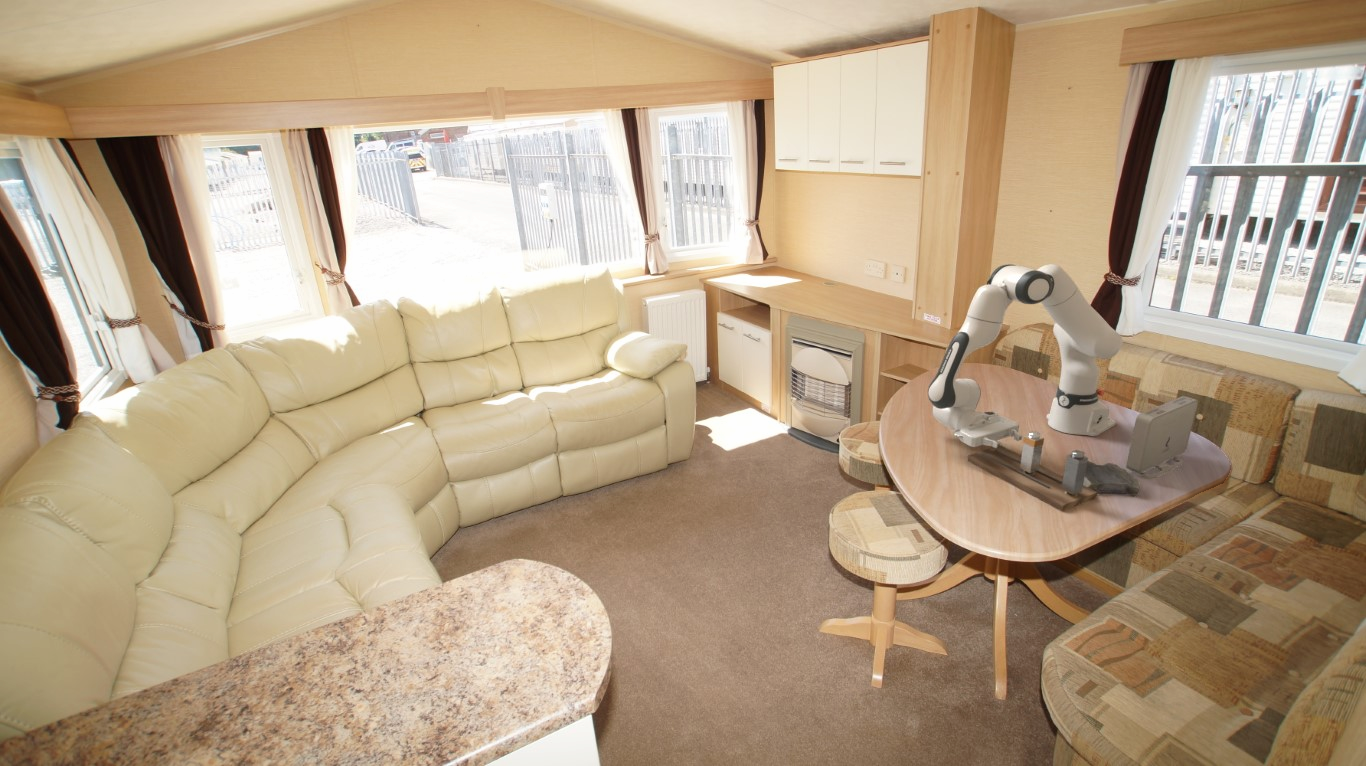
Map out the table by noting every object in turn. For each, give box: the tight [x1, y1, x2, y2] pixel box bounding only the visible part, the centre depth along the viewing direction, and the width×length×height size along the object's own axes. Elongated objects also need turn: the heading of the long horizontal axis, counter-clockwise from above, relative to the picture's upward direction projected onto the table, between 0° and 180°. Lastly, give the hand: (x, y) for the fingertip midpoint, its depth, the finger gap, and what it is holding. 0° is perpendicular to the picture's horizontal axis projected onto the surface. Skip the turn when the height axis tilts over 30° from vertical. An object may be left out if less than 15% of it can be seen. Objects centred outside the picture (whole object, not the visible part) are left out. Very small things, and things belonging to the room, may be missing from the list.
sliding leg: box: [1020, 430, 1045, 473], centre depth 191 cm, size 4×4×13 cm
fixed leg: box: [1061, 449, 1089, 495], centre depth 179 cm, size 4×4×13 cm
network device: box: [1125, 395, 1199, 479], centre depth 193 cm, size 26×9×20 cm, turn 117°
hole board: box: [967, 444, 1099, 512], centre depth 194 cm, size 14×34×3 cm, turn 23°
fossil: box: [1083, 460, 1142, 497], centre depth 189 cm, size 15×16×4 cm
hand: (1009, 441), depth 198 cm, fingers open, 8 cm apart
